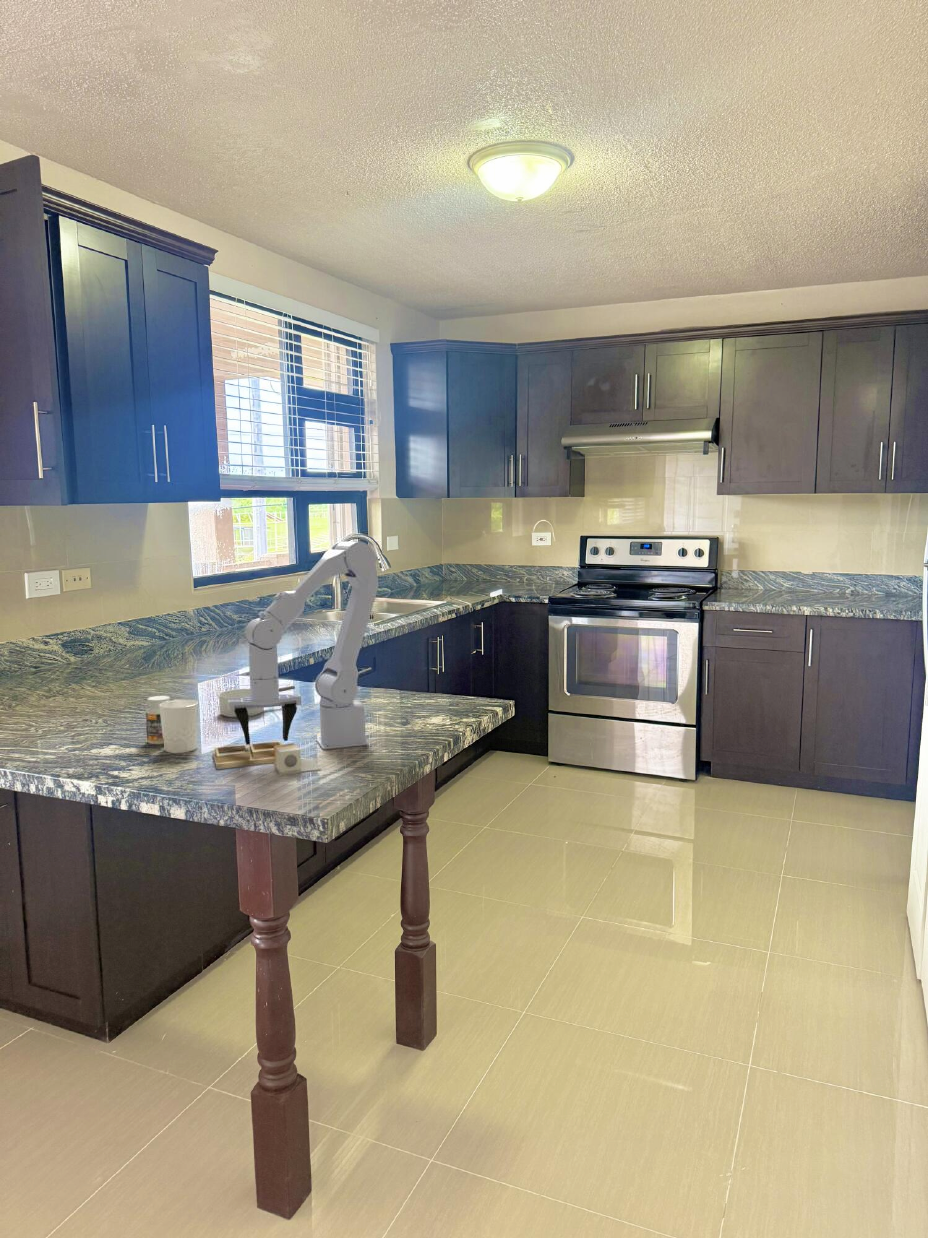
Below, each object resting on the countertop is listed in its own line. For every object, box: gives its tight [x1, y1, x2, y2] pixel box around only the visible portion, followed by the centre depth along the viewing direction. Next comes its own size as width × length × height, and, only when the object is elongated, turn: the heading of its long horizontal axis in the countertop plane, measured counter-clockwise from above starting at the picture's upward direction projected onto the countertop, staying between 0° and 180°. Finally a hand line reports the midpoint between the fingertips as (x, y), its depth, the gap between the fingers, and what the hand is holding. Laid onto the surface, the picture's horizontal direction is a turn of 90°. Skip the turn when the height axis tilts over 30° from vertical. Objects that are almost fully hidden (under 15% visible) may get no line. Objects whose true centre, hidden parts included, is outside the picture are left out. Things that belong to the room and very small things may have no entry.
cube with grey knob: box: [274, 743, 302, 772], centre depth 166 cm, size 4×4×5 cm
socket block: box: [212, 740, 283, 770], centre depth 173 cm, size 14×10×2 cm
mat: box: [273, 757, 322, 776], centre depth 167 cm, size 8×8×1 cm
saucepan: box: [217, 685, 296, 718], centre depth 214 cm, size 12×20×6 cm, turn 125°
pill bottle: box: [145, 695, 171, 745], centre depth 186 cm, size 6×6×10 cm
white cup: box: [159, 699, 199, 754], centre depth 180 cm, size 8×8×10 cm
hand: (266, 741), depth 174 cm, fingers open, 7 cm apart
